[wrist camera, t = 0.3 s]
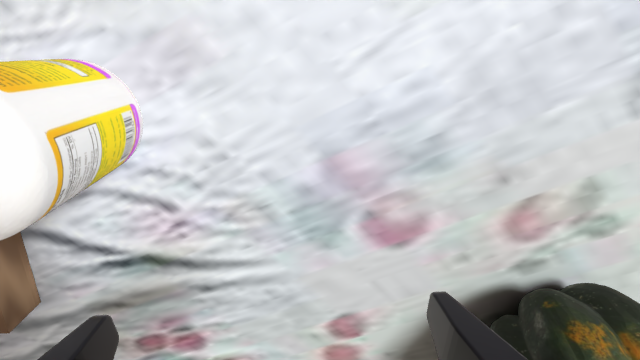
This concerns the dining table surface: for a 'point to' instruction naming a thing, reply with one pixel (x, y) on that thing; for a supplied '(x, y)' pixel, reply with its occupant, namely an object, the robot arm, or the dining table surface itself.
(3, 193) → the supplement bottle
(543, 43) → the dining table surface
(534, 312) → the squash
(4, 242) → the walnut tray
